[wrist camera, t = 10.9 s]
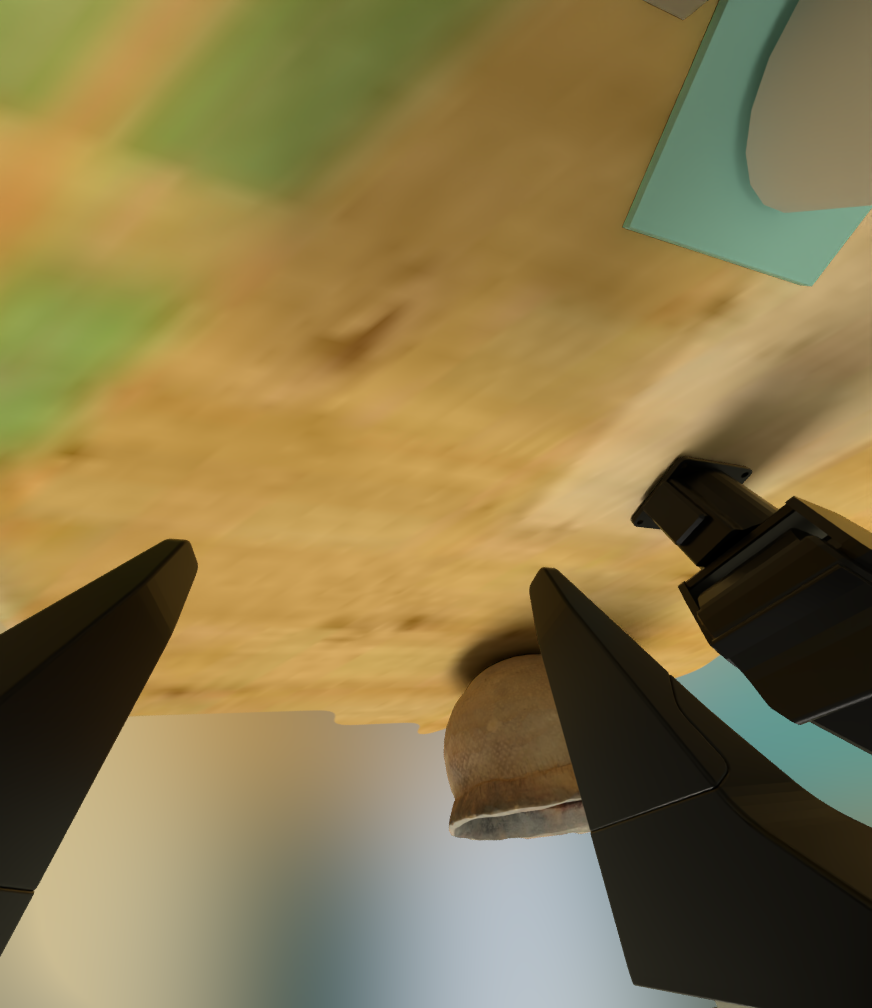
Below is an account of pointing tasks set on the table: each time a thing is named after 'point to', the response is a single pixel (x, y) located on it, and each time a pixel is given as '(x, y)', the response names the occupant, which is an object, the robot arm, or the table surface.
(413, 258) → the table surface
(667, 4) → the unit
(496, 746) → the ceramic bowl
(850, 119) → the can
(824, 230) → the mat
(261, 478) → the table surface
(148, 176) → the table surface
